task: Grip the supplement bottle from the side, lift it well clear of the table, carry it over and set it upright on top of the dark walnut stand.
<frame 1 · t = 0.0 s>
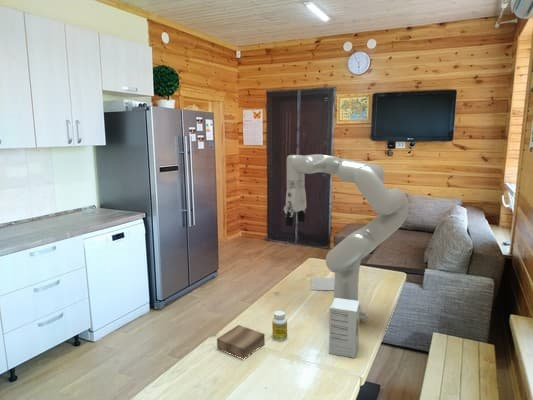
hand: (295, 223, 165), 37 cm above the table, tool pointing down, fingers open, 9 cm apart
supplement bottle: (279, 338, 143), on the table
supplement box: (344, 349, 135), on the table
walnut stand: (241, 346, 137), on the table
paper stack: (335, 288, 189), on the table
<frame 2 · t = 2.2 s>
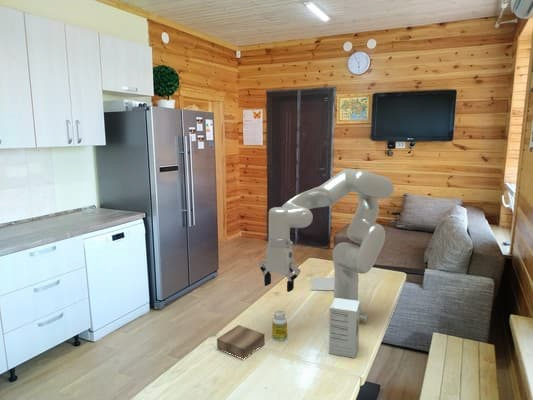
hand: (278, 287, 140), 20 cm above the table, tool pointing down, fingers open, 9 cm apart
nothing on the table moved.
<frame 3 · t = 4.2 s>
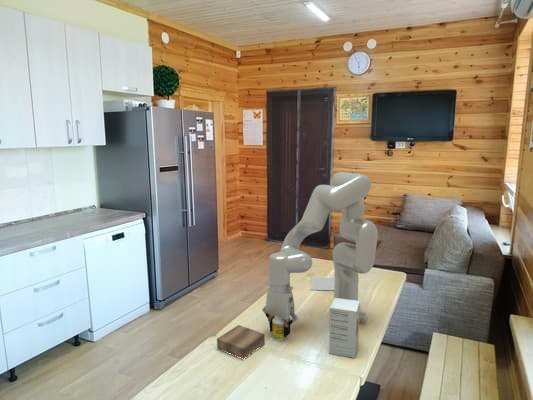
hand: (279, 332, 143), 2 cm above the table, tool pointing down, fingers closed on supplement bottle, 5 cm apart
supplement bottle: (279, 338, 143), on the table, touching gripper
everything else where it was.
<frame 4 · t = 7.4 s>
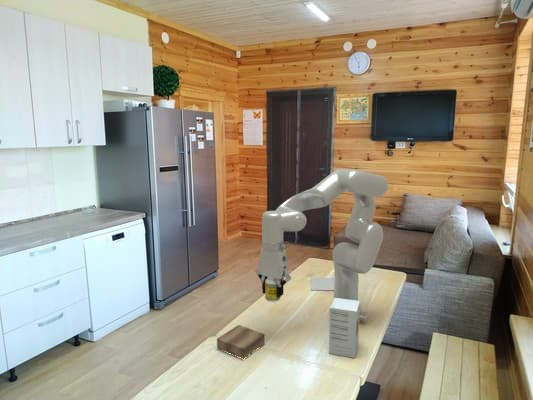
hand: (272, 293, 139), 18 cm above the table, tool pointing down, fingers closed on supplement bottle, 5 cm apart
supplement bottle: (272, 299, 139), point 16 cm above the table, touching gripper
everything else where it was.
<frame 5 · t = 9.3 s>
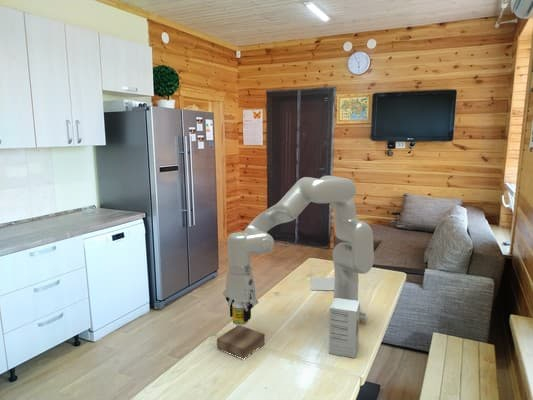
hand: (240, 317, 135), 11 cm above the table, tool pointing down, fingers closed on supplement bottle, 5 cm apart
supplement bottle: (240, 323, 135), point 9 cm above the table, touching gripper
everything else where it was.
when the fingers open (8 cm above the table, at t = 10.7 s): supplement bottle drops 2 cm, resting on walnut stand.
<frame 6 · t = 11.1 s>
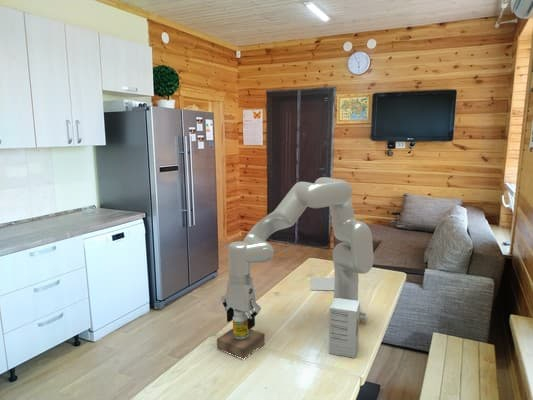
hand: (240, 324, 136), 9 cm above the table, tool pointing down, fingers open, 9 cm apart
supplement bottle: (241, 336, 137), point 4 cm above the table, touching walnut stand
everything else where it was.
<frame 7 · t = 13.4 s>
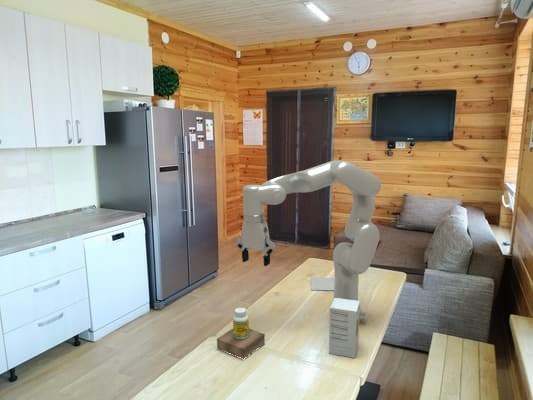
hand: (256, 263, 144), 27 cm above the table, tool pointing down, fingers open, 9 cm apart
nothing on the table moved.
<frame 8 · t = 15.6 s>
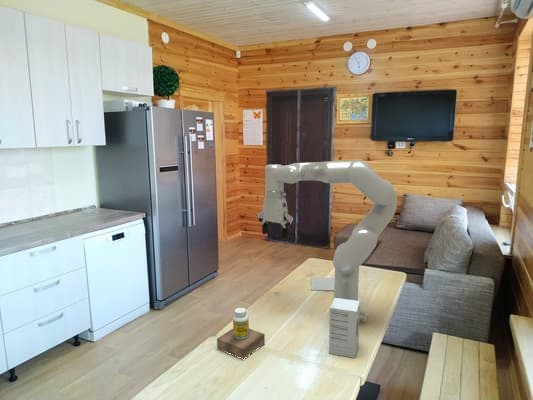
hand: (274, 235, 160), 33 cm above the table, tool pointing down, fingers open, 9 cm apart
nothing on the table moved.
at the end: supplement bottle 0.3 cm from the walnut stand (horizontally); supplement bottle point 3.8 cm above the table; supplement bottle tilted 0° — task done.
